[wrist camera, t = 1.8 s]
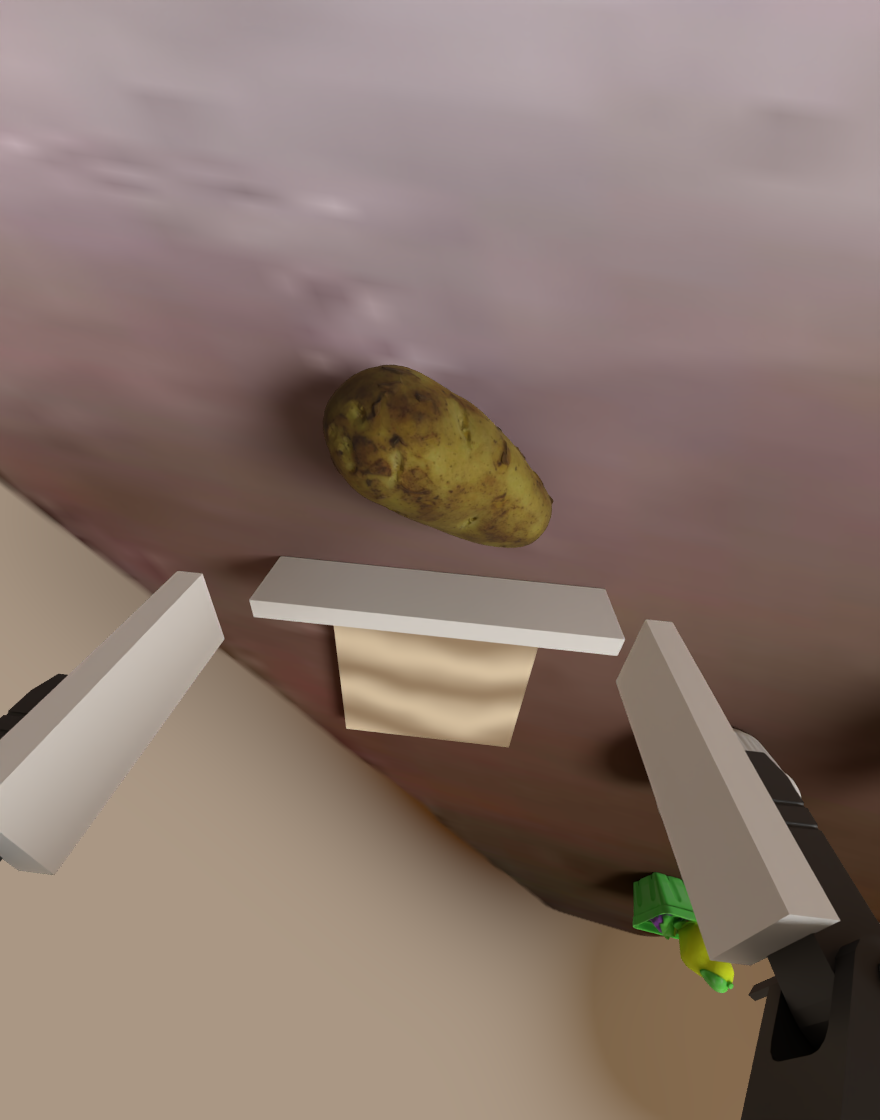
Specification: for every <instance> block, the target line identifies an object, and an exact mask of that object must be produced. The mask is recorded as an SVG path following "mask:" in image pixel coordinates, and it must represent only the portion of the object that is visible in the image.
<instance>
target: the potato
mask: <svg viewBox="0 0 880 1120" xmlns="http://www.w3.org/2000/svg"><path fill="white" fill-rule="evenodd" d="M323 431H324V436H325V440H326V444H327V446H328V449H329V452H330V455H331V458H332V461H333V463H334V465H335V467H336V469H337V470H338V471H339V473H340V474H341V475H342V476H343V477H344V479H345V480H346V481H347V482H348V483H349V485H350V486H351V487H352V488H353V489H355V490H356V491H357V492H358V493H359V494H361V495H362V496H364V497H365V498H367V499H369V500H371V501H373V502H375V503H377V504H380V505H382V506H385V507H387V508H388V509H389V510H392V511H394V512H396V513H398V514H400V515H402V516H404V517H407V518H409V519H411V520H414V521H417V522H419V523H422V524H425V525H427V526H430V527H433V528H436V529H438V530H440V531H443V532H445V533H448V534H451V535H453V536H456V537H459V538H462V539H465V540H468V541H471V542H474V543H478V544H483V545H488V546H494V547H506V548H516V547H523V546H526V545H529V544H531V543H533V542H534V541H536V540H537V539H538V538H539V537H540V536H541V535H542V534H543V532H544V531H545V529H546V528H547V526H548V523H549V521H550V518H551V512H552V503H553V499H552V498H551V497H550V496H549V495H548V493H547V491H546V489H545V488H544V486H543V483H542V481H541V479H540V478H539V476H538V475H537V474H536V472H534V471H532V469H531V468H530V467H529V465H528V463H527V462H526V460H525V457H524V456H523V454H522V453H521V452H520V450H519V448H518V447H516V446H514V445H513V444H512V442H511V441H510V440H509V439H508V438H507V437H506V436H505V435H504V434H503V433H502V431H501V429H500V428H499V427H496V426H495V425H494V424H493V422H492V421H491V420H490V419H489V418H488V417H487V416H486V415H485V414H484V413H483V412H481V411H480V410H479V409H478V408H477V407H476V406H474V405H473V404H472V403H470V402H469V401H467V400H466V399H464V398H462V397H460V396H458V395H456V394H454V393H453V392H451V391H450V390H448V389H447V388H445V387H443V386H442V385H440V384H439V383H437V382H435V381H434V380H432V379H430V378H429V377H427V376H425V375H424V374H422V373H420V372H418V371H415V370H413V369H410V368H407V367H403V366H398V365H382V366H378V367H373V368H368V369H366V370H363V371H361V372H359V373H357V374H355V375H353V376H352V377H350V378H349V379H348V380H346V381H345V382H344V383H343V384H342V385H341V386H340V387H339V388H338V389H337V390H336V391H335V393H334V394H333V396H332V397H331V398H330V400H329V402H328V404H327V406H326V408H325V411H324V418H323Z"/></svg>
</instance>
